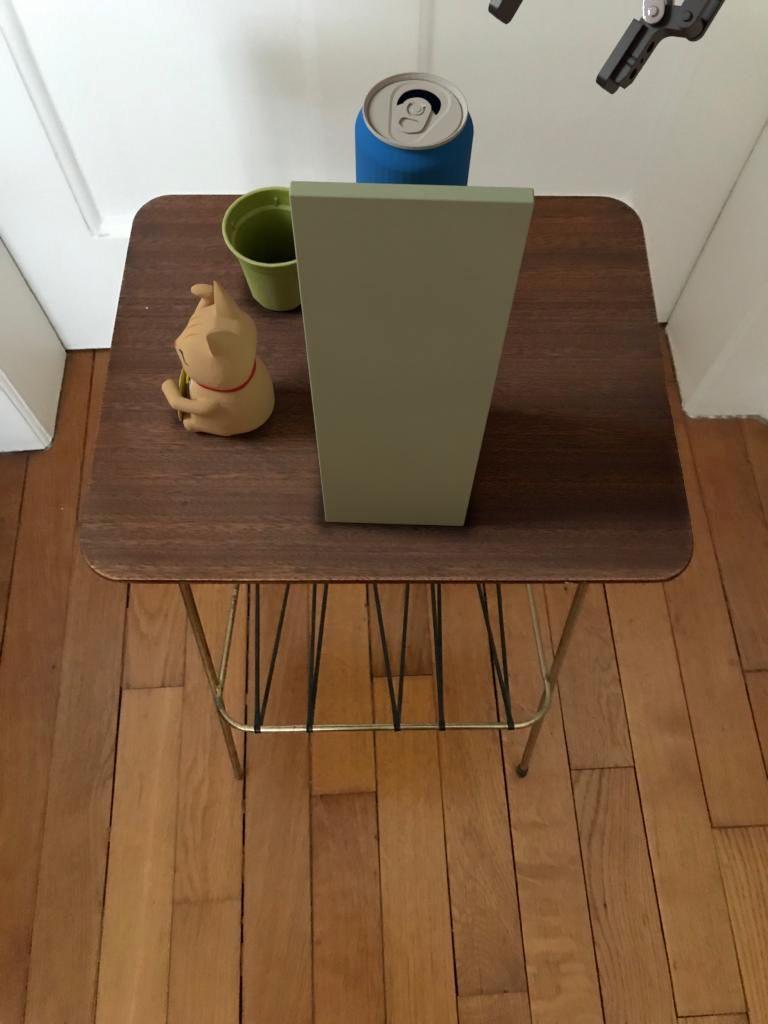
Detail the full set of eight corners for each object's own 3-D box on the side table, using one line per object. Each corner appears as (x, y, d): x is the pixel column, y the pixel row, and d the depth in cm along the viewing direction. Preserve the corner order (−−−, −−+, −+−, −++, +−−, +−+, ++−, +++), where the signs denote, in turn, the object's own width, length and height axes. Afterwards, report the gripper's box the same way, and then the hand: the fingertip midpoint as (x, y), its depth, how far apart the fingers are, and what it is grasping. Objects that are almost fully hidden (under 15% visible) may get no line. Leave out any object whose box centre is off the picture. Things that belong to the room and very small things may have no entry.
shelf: (462, 405, 83) (524, 31, 49) (463, 526, 78) (534, 202, 44) (333, 401, 83) (305, 25, 49) (325, 522, 78) (288, 195, 44)
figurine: (178, 364, 85) (141, 255, 71) (281, 368, 85) (263, 260, 71) (165, 443, 81) (124, 344, 68) (273, 447, 81) (253, 348, 68)
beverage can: (469, 239, 59) (490, 82, 48) (440, 313, 57) (455, 165, 46) (376, 214, 60) (377, 54, 49) (343, 286, 57) (336, 135, 47)
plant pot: (329, 250, 91) (325, 185, 83) (330, 325, 87) (325, 265, 79) (237, 251, 91) (224, 186, 83) (233, 327, 87) (219, 266, 79)
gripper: (605, -341, 46) (436, -26, 53) (841, -230, 42) (625, 97, 49) (641, -255, 53) (487, 16, 59) (849, -152, 48) (657, 128, 55)
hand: (549, 52), depth 54 cm, fingers open, 8 cm apart
